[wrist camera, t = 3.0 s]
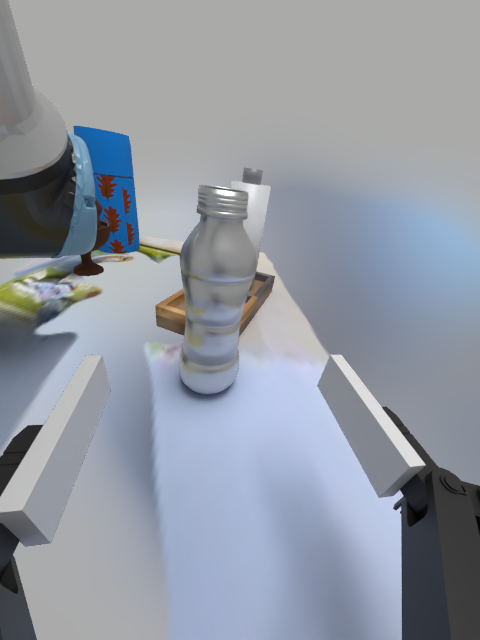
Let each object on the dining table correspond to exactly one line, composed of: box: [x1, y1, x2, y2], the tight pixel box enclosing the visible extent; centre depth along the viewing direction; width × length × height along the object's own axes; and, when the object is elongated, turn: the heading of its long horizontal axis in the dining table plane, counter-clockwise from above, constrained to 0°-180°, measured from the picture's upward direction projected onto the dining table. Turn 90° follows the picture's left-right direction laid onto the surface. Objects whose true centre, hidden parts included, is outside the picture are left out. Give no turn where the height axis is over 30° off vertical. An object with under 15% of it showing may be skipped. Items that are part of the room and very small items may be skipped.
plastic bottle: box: [179, 185, 257, 394], centre depth 22 cm, size 6×7×20 cm
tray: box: [156, 272, 275, 336], centre depth 43 cm, size 12×24×4 cm, turn 158°
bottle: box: [231, 168, 271, 291], centre depth 42 cm, size 6×6×20 cm
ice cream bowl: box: [73, 198, 111, 276], centre depth 45 cm, size 11×11×15 cm
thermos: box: [74, 126, 139, 253], centre depth 57 cm, size 11×11×25 cm
